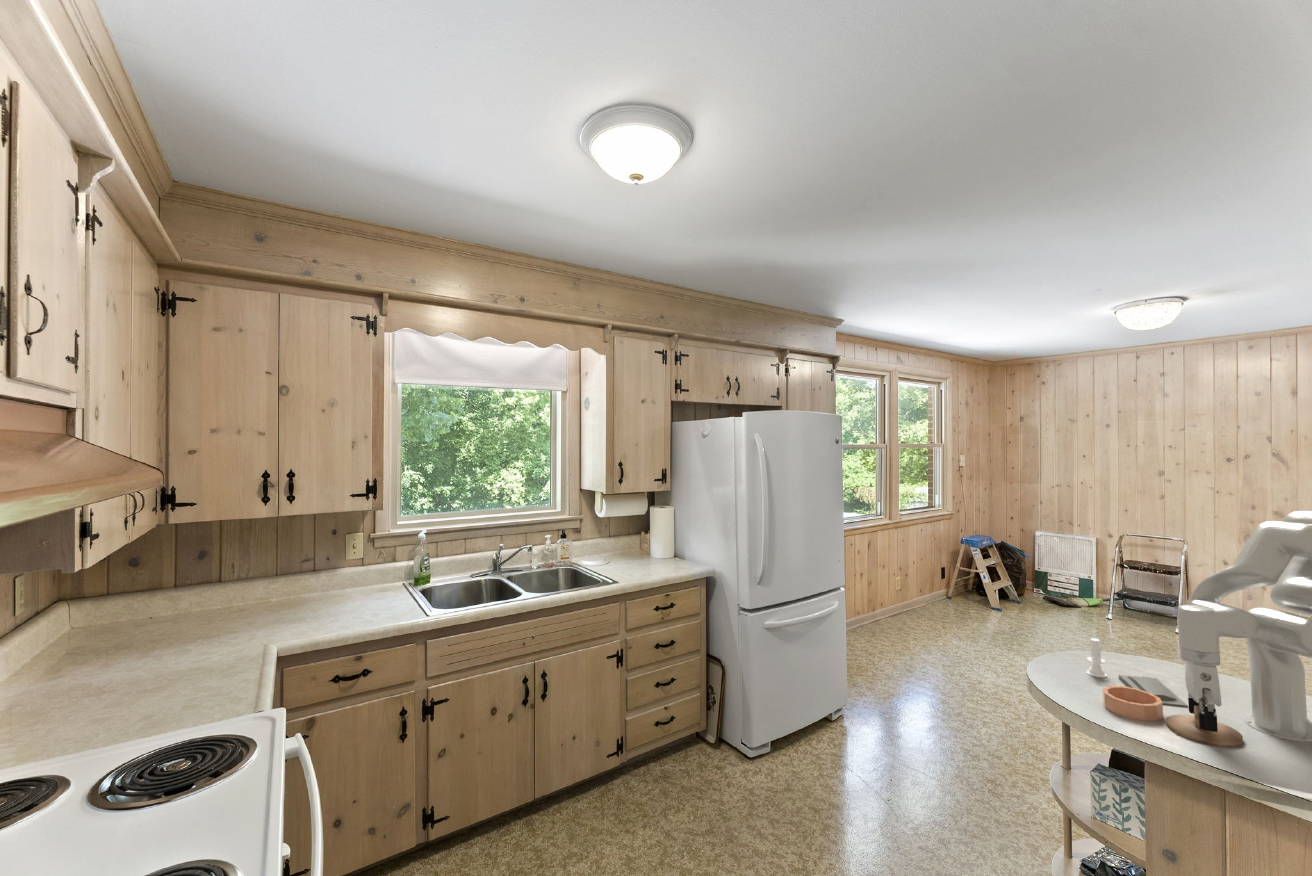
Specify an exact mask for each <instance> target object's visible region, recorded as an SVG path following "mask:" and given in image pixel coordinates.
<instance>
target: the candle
mask: <svg viewBox="0 0 1312 876" xmlns="http://www.w3.org/2000/svg"><path fill="white" fill-rule="evenodd" d="M1089 647H1090V657H1086V659H1087V661H1089V662H1091V663H1092V664H1091V666H1090V667H1089V669H1088V670H1087V671H1086V674H1087V675H1089V676H1092V677H1096V678H1107V677H1108V675H1107V674H1106V673H1105V670H1104V669H1102V666H1101V664H1103V663H1106V660H1104V659H1103V658H1102V655H1101V654H1102V653H1101V650H1102V645H1101V640H1100V639H1098V638H1096V637H1094V638H1090V639H1089Z"/></svg>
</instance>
